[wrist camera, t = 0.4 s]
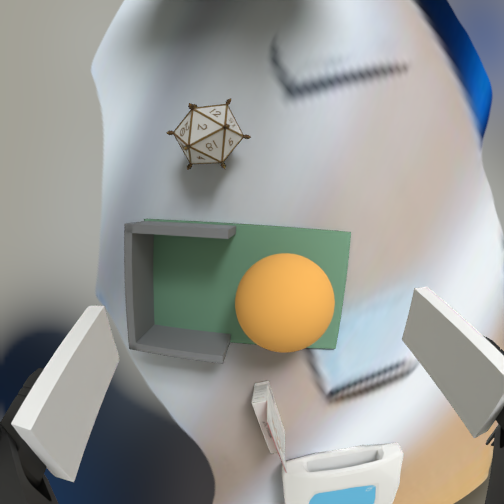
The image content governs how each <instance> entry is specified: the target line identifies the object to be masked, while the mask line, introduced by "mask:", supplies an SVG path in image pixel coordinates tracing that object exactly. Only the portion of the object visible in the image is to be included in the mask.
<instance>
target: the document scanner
mask: <svg viewBox="0 0 504 504" xmlns="http://www.w3.org/2000/svg"><path fill="white" fill-rule="evenodd" d="M403 456H404V453H403V451H402V449H401V447H400V445H399V444H398V443H397V442H396V443H390V444H375V445H360V446H355V447H350V448H344V449H338V450H332V451H325V452H318V453H313V454H310V455H306V456H303V457H299V458H296V459H292V460H288V461H286V469H287V473H286V472H285V469H284V467H283V464H282V480H283V490H284V500H285V504H392V503H393V500H394V498H395V495H396V492H397V489H398V486H399V483H400V471H401V465H402V460H403Z"/></svg>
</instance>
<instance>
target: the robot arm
mask: <svg viewBox="0 0 504 504" xmlns="http://www.w3.org/2000/svg"><path fill="white" fill-rule="evenodd" d="M402 340H403V342H404V343H405V344H406V345H407V347H408V348H409V349H410V350H411V352H412V353H413V354H414V356H415V357H416V358H417V360H418V361H419V362H420V363H421V365H422V366H423V367H424V369H425V370H426V371H427V373H428V374H429V375H430V377H431V378H432V379H433V381H434V382H435V383H436V385H437V386H438V388H439V389H440V390H441V392H442V393H443V394H444V396H445V397H446V399H447V400H448V401H449V403H450V404H451V406H452V407H453V408H454V410H455V411H456V413H457V414H458V415H459V417H460V418H461V420H462V421H463V423H464V424H465V426H466V427H467V429H468V430H469V431H470V433H471V434H472V436H473V437H474V438H476V437H478V436H479V435H481V434H483V433H485V432H487V431H488V430H489V428H490V427H491V426H492V424H493V423H494V421H495V420H496V421H497V422H498V424H499V425H498V426H497V427H496V429H495V430H494V432H493V433H492V434H491V436H490V437H489V438H488V440H487V442H486V445H488V444H489V443H490V441H491V440H492V439H493V438H494V441H493V443H492V444H491V446H494V449H493V458H492V466H491V474H490V479H489V486H488V491H487V496H486V500H485V504H504V351H503V350H502V349H501V350H500V347H499V346H498V345H496V344H495V343H494V342H493V341H492V340H490V339H489V338H487V337H485V336H483V335H482V334H481V333H479V332H478V331H477V330H476V329H475V328H474V327H473V326H472V325H471V324H470V323H469V322H467V321H466V320H465V319H464V318H463V317H462V316H461V315H460V314H458V313H457V312H456V311H455V310H454V309H453V308H452V307H450V306H449V305H448V304H447V303H446V302H445V301H444V300H442V299H441V298H440V297H439V296H438V295H436V294H435V293H434V292H433V291H432V290H431V289H429V288H428V287H422V288H414V293H413V297H412V302H411V306H410V310H409V314H408V318H407V322H406V326H405V330H404V334H403V337H402ZM119 360H120V358H119V354H118V351H117V348H116V345H115V341H114V338H113V335H112V332H111V328H110V324H109V321H108V317H107V313H106V310H105V306H88V307H87V309H86V310H85V311H84V313H83V314H82V315H81V317H80V318H79V319H78V321H77V322H76V324H75V325H74V326H73V328H72V329H71V330H70V332H69V333H68V335H67V336H66V338H65V339H64V340H63V342H62V343H61V345H60V346H59V347H58V349H57V350H56V352H55V354H54V355H53V356H52V358H51V359H50V361H49V362H48V364H47V365H46V367H45V368H44V369H42V368H39V369H37V370H36V371H35V372H34V373H33V374H31V375H30V376H29V377H28V379H27V380H26V382H25V383H24V385H23V388H21V390H20V391H19V393H18V396H16V398H15V399H14V401H13V403H12V404H11V406H10V407H9V409H8V411H7V412H6V414H5V416H4V417H3V419H2V421H1V422H0V504H58V502H57V500H56V497H55V495H54V493H53V491H52V489H51V486H50V484H49V481H48V479H47V478H46V476H45V475H44V472H45V469H46V467H47V468H48V470H50V472H51V473H52V474H53V475H54V476H56V477H59V478H62V479H65V480H69V481H72V482H74V480H75V477H76V474H77V471H78V468H79V465H80V462H81V459H82V455H83V453H84V450H85V447H86V444H87V441H88V438H89V436H90V433H91V430H92V427H93V425H94V422H95V419H96V417H97V414H98V411H99V409H100V406H101V404H102V401H103V398H104V396H105V393H106V391H107V389H108V386H109V384H110V381H111V379H112V376H113V374H114V372H115V369H116V367H117V364H118V362H119Z"/></svg>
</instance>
